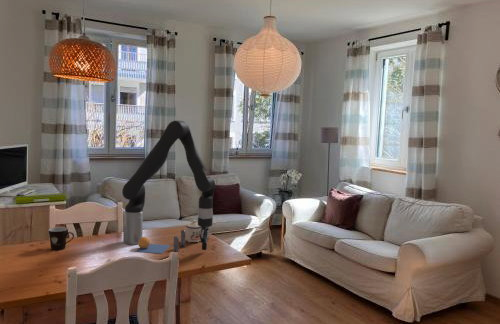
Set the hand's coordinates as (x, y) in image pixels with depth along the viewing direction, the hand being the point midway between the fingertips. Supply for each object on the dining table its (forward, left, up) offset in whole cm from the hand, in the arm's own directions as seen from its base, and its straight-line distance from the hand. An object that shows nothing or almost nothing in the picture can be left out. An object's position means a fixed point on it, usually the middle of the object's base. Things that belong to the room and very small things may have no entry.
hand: (204, 249), depth 205 cm
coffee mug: (-71, -12, -2) cm, 72 cm away
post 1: (-13, -6, -2) cm, 15 cm away
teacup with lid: (-9, +20, -2) cm, 22 cm away
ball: (-32, -1, +2) cm, 32 cm away
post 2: (-13, +6, -2) cm, 15 cm away
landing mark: (-27, 0, -2) cm, 27 cm away
